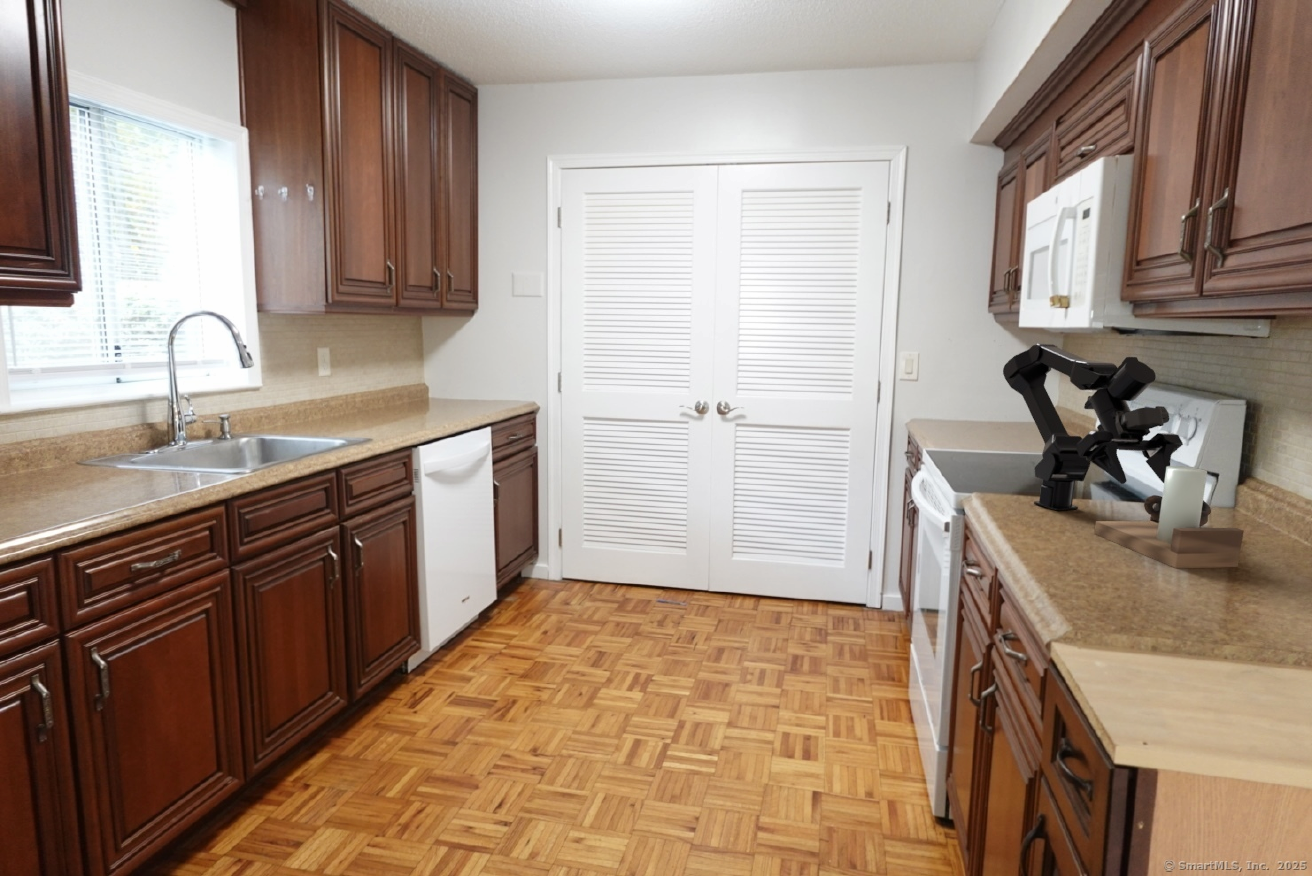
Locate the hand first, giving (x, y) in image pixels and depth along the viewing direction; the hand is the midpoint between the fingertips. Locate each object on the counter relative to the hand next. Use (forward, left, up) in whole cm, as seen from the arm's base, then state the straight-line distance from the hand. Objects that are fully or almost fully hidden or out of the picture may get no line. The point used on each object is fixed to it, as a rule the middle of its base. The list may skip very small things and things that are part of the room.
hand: (1146, 483), depth 148 cm
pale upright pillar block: (+2, +8, -9) cm, 12 cm away
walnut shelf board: (+1, +5, -11) cm, 12 cm away
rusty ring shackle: (-19, -6, -11) cm, 23 cm away
